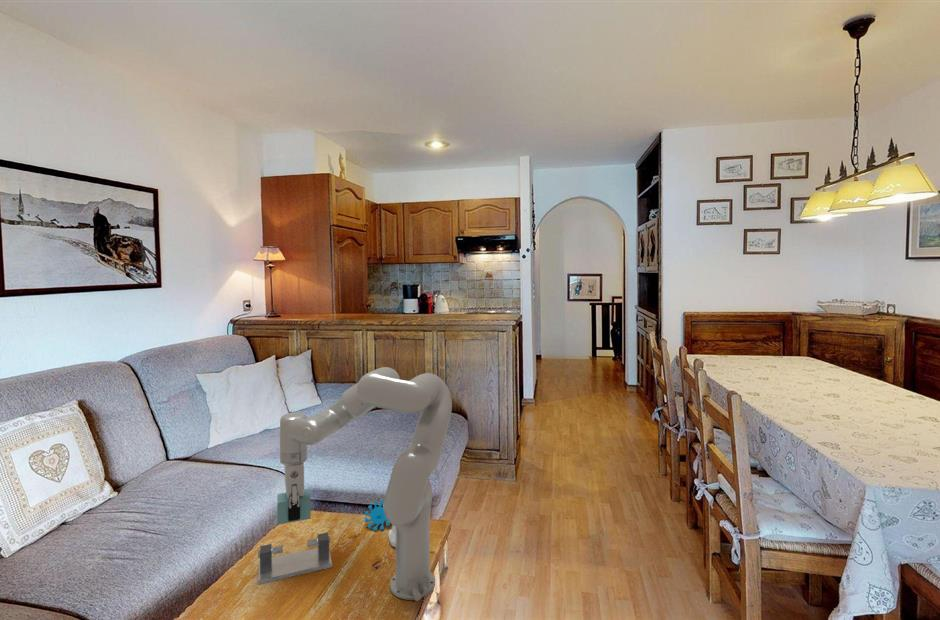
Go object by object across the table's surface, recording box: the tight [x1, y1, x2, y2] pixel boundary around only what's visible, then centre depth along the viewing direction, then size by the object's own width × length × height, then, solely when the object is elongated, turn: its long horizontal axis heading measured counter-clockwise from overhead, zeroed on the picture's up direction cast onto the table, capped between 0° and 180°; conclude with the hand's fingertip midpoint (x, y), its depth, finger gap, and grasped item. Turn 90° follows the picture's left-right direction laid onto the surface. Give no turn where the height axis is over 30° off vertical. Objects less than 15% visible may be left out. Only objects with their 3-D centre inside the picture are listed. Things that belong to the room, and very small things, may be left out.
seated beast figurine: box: [387, 524, 396, 548], centre depth 146 cm, size 10×9×12 cm
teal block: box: [276, 488, 311, 526], centre depth 133 cm, size 6×9×6 cm, turn 113°
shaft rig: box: [257, 531, 333, 585], centre depth 133 cm, size 10×20×7 cm, turn 114°
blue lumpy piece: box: [364, 500, 391, 532], centre depth 157 cm, size 11×6×10 cm
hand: (293, 513), depth 133 cm, fingers closed on teal block, 5 cm apart
